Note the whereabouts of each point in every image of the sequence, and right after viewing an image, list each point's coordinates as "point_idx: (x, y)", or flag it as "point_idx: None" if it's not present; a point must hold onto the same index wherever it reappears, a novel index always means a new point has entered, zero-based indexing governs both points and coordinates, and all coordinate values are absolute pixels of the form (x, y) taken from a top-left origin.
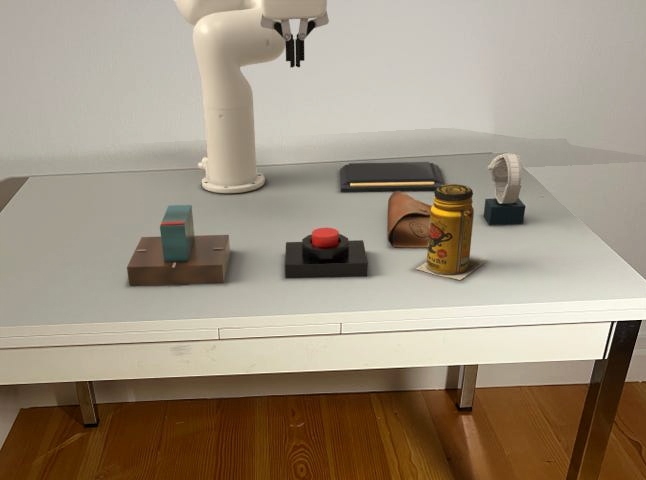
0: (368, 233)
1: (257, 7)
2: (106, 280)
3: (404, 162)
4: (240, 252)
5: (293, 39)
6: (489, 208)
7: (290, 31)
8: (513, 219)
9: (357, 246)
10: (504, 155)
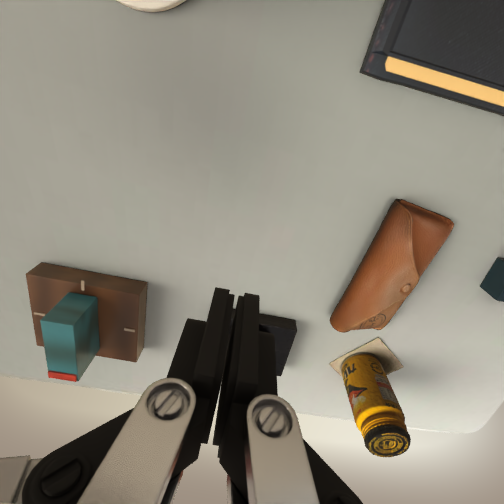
0: (324, 270)
1: None
2: (21, 314)
3: None
4: (160, 284)
5: (213, 390)
6: (497, 290)
7: (184, 438)
8: None
9: (284, 343)
10: None
